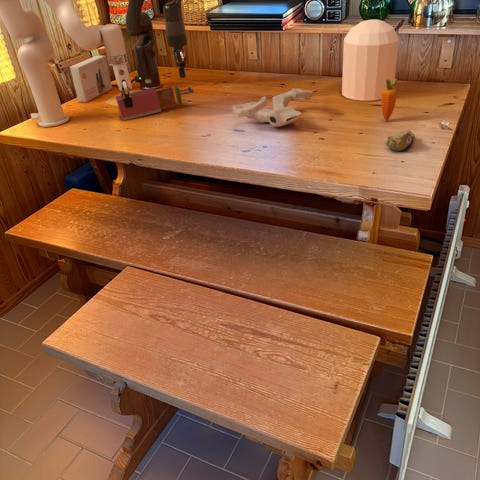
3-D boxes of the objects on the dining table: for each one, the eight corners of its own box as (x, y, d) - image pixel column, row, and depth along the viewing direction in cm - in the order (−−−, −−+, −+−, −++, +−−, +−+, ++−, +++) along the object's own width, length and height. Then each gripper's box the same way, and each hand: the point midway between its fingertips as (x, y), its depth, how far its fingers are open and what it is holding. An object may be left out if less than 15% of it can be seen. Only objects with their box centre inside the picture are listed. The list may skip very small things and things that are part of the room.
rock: (408, 140, 153) (379, 139, 152) (414, 122, 149) (384, 120, 148) (421, 154, 144) (391, 153, 143) (428, 135, 140) (396, 133, 139)
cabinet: (158, 107, 198) (154, 87, 193) (161, 111, 193) (156, 91, 188) (121, 116, 194) (115, 96, 190) (122, 120, 190) (117, 100, 185)
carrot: (394, 118, 167) (398, 76, 158) (393, 123, 163) (397, 80, 154) (379, 117, 168) (383, 75, 160) (378, 122, 165) (382, 80, 156)
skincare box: (87, 102, 214) (77, 67, 204) (78, 102, 215) (68, 66, 206) (113, 88, 229) (105, 54, 220) (104, 88, 231) (96, 54, 222)
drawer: (193, 97, 200) (190, 82, 196) (195, 100, 196) (193, 85, 192) (145, 108, 196) (141, 93, 192) (147, 112, 192) (143, 96, 188)
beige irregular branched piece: (230, 133, 167) (227, 101, 161) (244, 110, 188) (241, 81, 182) (308, 133, 161) (308, 99, 155) (313, 109, 182) (314, 78, 176)
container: (362, 104, 181) (368, 27, 165) (331, 91, 197) (333, 20, 182) (404, 93, 188) (413, 18, 172) (371, 81, 204) (376, 12, 188)
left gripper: (130, 62, 174) (140, 109, 184) (124, 53, 187) (134, 97, 198) (110, 65, 172) (121, 112, 182) (106, 56, 186) (116, 100, 196)
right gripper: (189, 34, 177) (195, 79, 187) (181, 28, 188) (187, 72, 198) (170, 37, 176) (177, 83, 185) (163, 31, 186) (170, 75, 196)
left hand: (128, 104), depth 190 cm, fingers closed on cabinet, 6 cm apart
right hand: (182, 77), depth 192 cm, fingers closed
